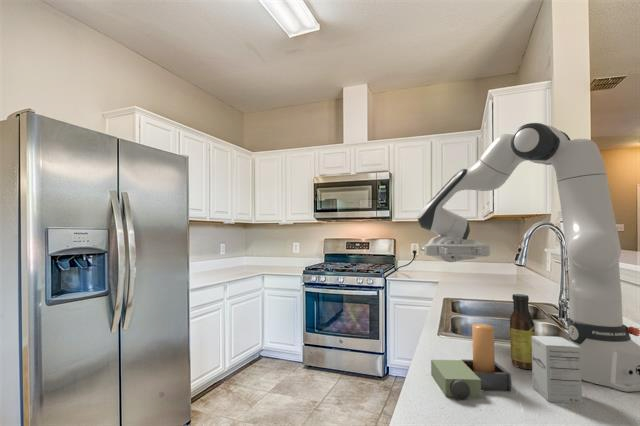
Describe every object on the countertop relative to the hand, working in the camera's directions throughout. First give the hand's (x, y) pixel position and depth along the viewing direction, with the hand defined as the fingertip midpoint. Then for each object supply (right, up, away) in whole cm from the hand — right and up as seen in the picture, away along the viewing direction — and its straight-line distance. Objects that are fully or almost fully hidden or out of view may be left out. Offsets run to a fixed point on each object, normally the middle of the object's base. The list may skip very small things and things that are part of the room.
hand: (464, 251), depth 105 cm
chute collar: (-3, -31, -19) cm, 36 cm away
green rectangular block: (-11, -31, -20) cm, 39 cm away
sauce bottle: (+14, -32, -8) cm, 36 cm away
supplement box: (+11, -31, -25) cm, 41 cm away
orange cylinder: (-3, -31, -19) cm, 36 cm away
